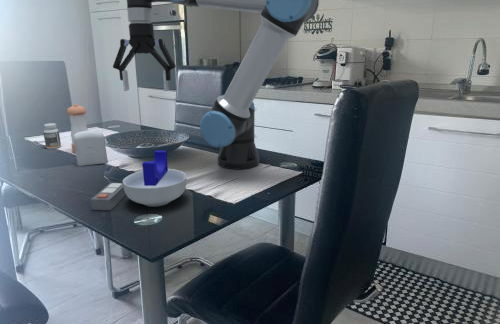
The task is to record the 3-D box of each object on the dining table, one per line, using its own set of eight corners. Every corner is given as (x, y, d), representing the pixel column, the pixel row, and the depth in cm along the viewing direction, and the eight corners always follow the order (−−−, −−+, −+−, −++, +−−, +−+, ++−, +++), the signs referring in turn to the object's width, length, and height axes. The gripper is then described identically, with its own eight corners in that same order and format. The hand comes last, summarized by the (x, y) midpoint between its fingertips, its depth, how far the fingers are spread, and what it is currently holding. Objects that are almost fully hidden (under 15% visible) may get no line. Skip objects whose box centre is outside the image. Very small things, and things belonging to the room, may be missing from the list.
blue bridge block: (152, 170, 109) (150, 150, 107) (167, 170, 109) (166, 150, 107) (138, 185, 98) (136, 163, 96) (155, 185, 98) (153, 163, 96)
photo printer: (76, 167, 135) (72, 133, 131) (77, 163, 139) (72, 130, 135) (107, 164, 138) (103, 130, 134) (107, 160, 142) (103, 128, 138)
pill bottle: (51, 145, 163) (48, 122, 160) (64, 145, 162) (60, 123, 159) (43, 149, 158) (39, 125, 155) (55, 149, 157) (51, 125, 154)
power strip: (131, 189, 114) (130, 178, 113) (110, 210, 100) (109, 198, 99) (115, 189, 114) (113, 178, 113) (92, 209, 100) (90, 197, 99)
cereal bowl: (190, 189, 114) (189, 167, 112) (183, 213, 98) (182, 187, 96) (133, 190, 114) (131, 167, 111) (117, 214, 98) (114, 188, 96)
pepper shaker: (74, 154, 150) (67, 106, 144) (71, 150, 155) (64, 103, 150) (93, 151, 153) (87, 104, 148) (89, 147, 159) (83, 102, 153)
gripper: (182, 23, 123) (185, 89, 130) (107, 23, 125) (114, 89, 131) (176, 22, 116) (180, 92, 122) (97, 22, 118) (105, 91, 124)
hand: (146, 90), depth 127 cm, fingers open, 13 cm apart
